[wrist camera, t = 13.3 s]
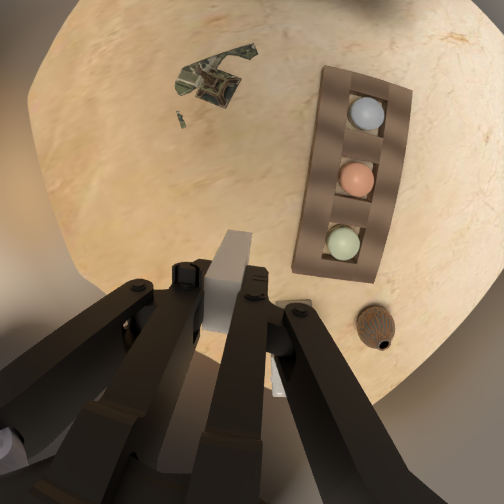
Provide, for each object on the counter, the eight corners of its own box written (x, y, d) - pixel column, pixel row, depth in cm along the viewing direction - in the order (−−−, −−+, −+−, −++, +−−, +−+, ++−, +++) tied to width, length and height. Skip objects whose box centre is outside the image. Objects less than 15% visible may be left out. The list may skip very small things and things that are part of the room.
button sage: (329, 222, 43) (333, 227, 40) (357, 227, 43) (362, 232, 40) (323, 250, 45) (326, 257, 42) (350, 254, 45) (355, 262, 42)
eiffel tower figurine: (255, 42, 34) (247, 6, 22) (276, 98, 38) (277, 79, 25) (165, 76, 37) (126, 56, 25) (183, 131, 40) (148, 128, 28)
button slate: (349, 96, 36) (354, 93, 33) (378, 104, 36) (385, 102, 33) (345, 126, 38) (351, 125, 35) (375, 133, 38) (382, 133, 35)
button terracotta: (340, 159, 40) (345, 160, 37) (370, 165, 39) (376, 167, 37) (335, 189, 41) (339, 193, 39) (364, 195, 41) (370, 199, 38)
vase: (389, 298, 48) (406, 325, 40) (384, 328, 50) (399, 357, 42) (354, 303, 49) (367, 332, 40) (352, 333, 51) (362, 363, 43)
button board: (321, 69, 35) (324, 65, 33) (405, 92, 35) (412, 90, 32) (291, 266, 47) (292, 273, 44) (369, 277, 46) (373, 283, 44)
